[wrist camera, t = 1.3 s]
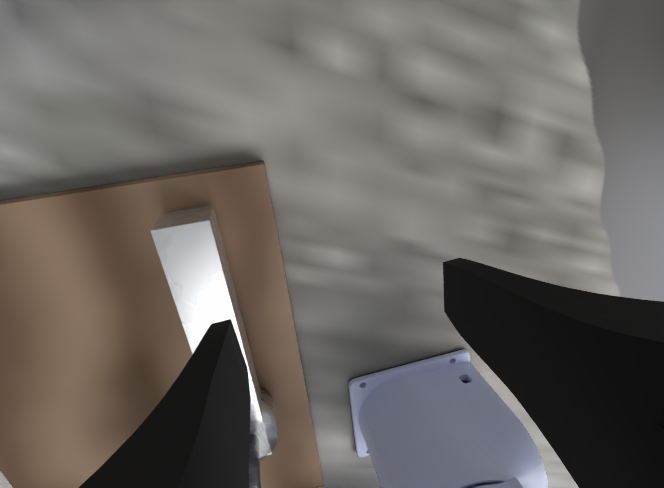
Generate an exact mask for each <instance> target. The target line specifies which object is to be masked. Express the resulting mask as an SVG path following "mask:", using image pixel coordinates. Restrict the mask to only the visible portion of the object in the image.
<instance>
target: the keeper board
mask: <svg viewBox="0 0 664 488" xmlns="http://www.w3.org/2000/svg"><path fill="white" fill-rule="evenodd" d="M209 205H213V206H214V210H215V214H216V218H217V222H218V225H219V229H220V233H221V237H222V241H223V245H224V249H225V253H226V257H227V261H228V264H229V268H230V272H231V276H232V280H233V284H234V288H235V292H236V296H237V300H238V304H239V307H240V311H241V315H242V319H243V323H244V327H245V331H246V335H247V339H248V343H249V346H250V350H251V354H252V358H253V362H254V366H255V370H256V374H257V378H258V382H259V386H260V389H261V390H263V391H265V392H267V393H268V394H269V395H270V396H271V397H272V399H273V402H274V408H275V417H276V426H277V435H278V440H277V444H276V446H275V448H274V450H273V451H272V452H271V453H272V454H271V455H268V456H267V457H265V458H264V459H262V460H260V475H261V488H317V487H320V486H324V482H323V477H322V471H321V466H320V461H319V455H318V450H317V444H316V439H315V434H314V428H313V423H312V418H311V412H310V407H309V401H308V396H307V391H306V385H305V380H304V374H303V369H302V364H301V358H300V353H299V347H298V342H297V337H296V331H295V326H294V320H293V315H292V310H291V304H290V299H289V294H288V288H287V283H286V277H285V272H284V267H283V261H282V256H281V250H280V245H279V240H278V234H277V229H276V223H275V218H274V213H273V207H272V202H271V197H270V191H269V186H268V180H267V175H266V170H265V164H264V161H259V162H252V163H245V164H239V165H232V166H226V167H219V168H212V169H206V170H199V171H193V172H186V173H180V174H173V175H166V176H160V177H153V178H147V179H140V180H134V181H127V182H120V183H114V184H107V185H101V186H94V187H88V188H81V189H74V190H68V191H61V192H55V193H48V194H42V195H35V196H28V197H22V198H15V199H9V200H2V201H0V471H1V472H2V473H3V475H4V476H5V477H6V479H7V480H8V481H9V483H10V484H11V485H12V487H13V488H79V487H80V486H81V485H82V484H83V483H84V482H85V481H86V480H87V479H88V478H89V477H90V476H91V475H92V474H94V473H95V472H96V471H97V470H98V469H99V468H100V467H101V466H102V465H103V464H104V463H105V462H106V461H107V460H108V459H109V458H110V457H111V456H112V455H113V454H114V453H115V452H116V451H117V449H118V448H119V447H120V446H121V445H122V444H123V443H124V442H125V441H126V440H127V439H128V438H129V437H130V436H131V435H132V434H133V433H134V432H135V431H136V430H137V428H138V427H139V426H140V425H141V424H142V423H143V421H144V420H145V419H146V418H147V417H148V416H149V414H150V413H151V412H152V411H153V410H154V408H155V407H156V406H157V405H158V403H159V402H160V401H161V400H162V398H163V397H164V396H165V394H166V393H167V391H168V390H169V389H170V387H171V386H172V384H173V383H174V382H175V380H176V379H177V377H178V376H179V374H180V373H181V371H182V370H183V368H184V367H185V365H186V364H187V362H188V361H189V359H190V357H191V356H192V351H191V348H190V345H189V342H188V339H187V336H186V334H185V331H184V328H183V325H182V322H181V319H180V316H179V313H178V310H177V307H176V304H175V301H174V298H173V296H172V293H171V290H170V287H169V284H168V281H167V278H166V275H165V272H164V269H163V266H162V263H161V260H160V258H159V255H158V252H157V249H156V246H155V243H154V240H153V237H152V234H151V229H152V227H153V226H154V224H155V223H156V221H157V220H158V218H159V217H160V215H161V214H162V213H168V212H173V211H179V210H185V209H191V208H197V207H203V206H209Z"/></svg>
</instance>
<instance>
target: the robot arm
mask: <svg viewBox="0 0 664 488" xmlns="http://www.w3.org/2000/svg"><path fill="white" fill-rule="evenodd" d="M443 275H444V311H445V313H446V315H447V316H448V318H449V319H450V321H451V322H452V324H453V325H454V327H455V328H456V330H457V331H458V332H459V334H460V335H461V336H462V337H463V339H464V340H465V341H466V342H467V343H468V344H469V345H470V346H471V348H472V349H473V350H474V351H475V352H476V353H477V354H478V355H479V356H480V358H481V359H482V360H483V361H484V362H485V363H486V364H487V365H488V366H489V367H490V368H491V370H492V371H493V372H494V373H495V374H496V375H497V376H498V377H499V378H500V379H501V381H502V382H503V383H504V384H505V385H506V386H507V387H508V388H509V390H510V391H511V392H512V393H513V394H514V396H515V397H516V398H517V399H518V401H519V402H520V403H521V405H522V406H523V408H524V409H525V410H526V412H527V413H528V414H529V416H530V417H531V418H532V420H533V421H534V422H535V424H536V425H537V426H538V428H539V429H540V431H541V432H542V434H543V435H544V436H545V438H546V439H547V441H548V442H549V444H550V445H551V446H552V448H553V449H554V451H555V452H556V453H557V455H558V456H559V458H560V459H561V461H562V463H563V464H564V466H565V467H566V469H567V470H568V472H569V473H570V475H571V476H572V478H573V479H574V481H575V482H576V484H577V485H578V487H579V488H664V302H660V301H650V300H640V299H632V298H624V297H617V296H610V295H604V294H597V293H592V292H587V291H581V290H576V289H571V288H567V287H562V286H558V285H554V284H550V283H546V282H542V281H538V280H534V279H531V278H527V277H524V276H520V275H517V274H514V273H510V272H507V271H504V270H501V269H497V268H494V267H491V266H488V265H484V264H481V263H478V262H474V261H471V260H467V259H462V258H457V259H454V260H450V261H446V262H443ZM361 383H363V384H361ZM348 388H349V396H350V404H351V413H352V421H353V429H354V438H355V446H356V452H357V455H358V456H359V457H365V456H369V455H370V457H371V459H372V462H373V465H374V468H375V470H376V473H377V476H378V479H379V482H380V484H381V487H382V488H548V482H547V475H546V470H545V466H544V463H543V460H542V458H541V455H540V453H539V451H538V449H537V447H536V445H535V443H534V441H533V439H532V438H531V436H530V434H529V433H528V431H527V430H526V428H525V427H524V425H523V424H522V423H521V421H520V420H519V419H518V418H517V417H516V415H515V414H514V413H513V412H512V411H511V410H510V408H509V407H508V406H507V405H506V404H505V403H504V401H503V400H502V399H501V398H500V397H499V396H498V394H497V393H496V392H495V391H494V390H493V389H492V387H491V386H490V385H489V384H488V383H487V382H486V380H485V379H484V378H483V377H482V376H481V375H480V373H479V372H478V371H477V370H476V369H475V368H474V366H473V365H472V364H471V363H470V353H469V352H468V351H467V350H465V349H464V350H459V351H455V352H452V353H448V354H444V355H440V356H437V357H433V358H429V359H425V360H422V361H418V362H414V363H410V364H407V365H403V366H399V367H395V368H392V369H388V370H384V371H380V372H377V373H373V374H369V375H365V376H362V377H358V378H354V379H352V380H351V381H350V382H349V383H348ZM250 406H251V397H250V386H249V376H248V368H247V365H246V362H245V359H244V356H243V353H242V350H241V347H240V344H239V341H238V338H237V335H236V332H235V329H234V326H233V323H232V320H231V319H228V320H224V321H220V322H217V323H213V324H211V325H210V326H209V328H208V330H207V331H206V333H205V334H204V336H203V338H202V339H201V341H200V343H199V344H198V346H197V348H196V349H195V351H194V353H193V354H192V356H191V357H190V359H189V361H188V362H187V364H186V365H185V367H184V368H183V370H182V371H181V373H180V374H179V376H178V377H177V379H176V380H175V382H174V383H173V384H172V386H171V387H170V389H169V390H168V391H167V393H166V394H165V396H164V397H163V398H162V400H161V401H160V402H159V403H158V405H157V406H156V407H155V408H154V410H153V411H152V412H151V413H150V414H149V416H148V417H147V418H146V419H145V420H144V421H143V423H142V424H141V425H140V426H139V427H138V428H137V430H136V431H135V432H134V433H133V434H132V435H131V436H130V437H129V438H128V439H127V440H126V441H125V442H124V443H123V444H122V445H121V446H120V447H119V448H118V449H117V451H116V452H115V453H114V454H113V455H112V456H111V457H110V458H109V459H108V460H107V461H106V462H105V463H104V464H103V465H102V466H101V467H100V468H99V469H98V470H97V471H96V472H95V473H94V474H92V475H91V476H90V477H89V478H88V479H87V480H86V481H85V482H84V483H83V484H82V485H81V486H80V487H79V488H249V447H250Z"/></svg>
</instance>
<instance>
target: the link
mask: <svg viewBox="0 0 664 488" xmlns="http://www.w3.org/2000/svg"><path fill="white" fill-rule="evenodd" d="M151 234H152V237H153V240H154V243H155V246H156V249H157V252H158V255H159V258H160V260H161V263H162V266H163V269H164V272H165V275H166V278H167V281H168V284H169V287H170V290H171V293H172V296H173V298H174V301H175V304H176V307H177V310H178V313H179V316H180V319H181V322H182V325H183V328H184V331H185V334H186V336H187V339H188V342H189V345H190V348H191V351H192V354H193V353H194V351H195V349H196V348H197V346H198V344H199V343H200V341H201V339H202V338H203V336H204V334H205V333H206V331H207V330H208V328H209V326H210V325H211V324H213V323H217V322H220V321H224V320H228V319H231V320H232V323H233V326H234V329H235V332H236V335H237V338H238V341H239V344H240V347H241V350H242V353H243V356H244V359H245V362H246V365H247V368H248V376H249V386H250V397H251V406H250V447H249V488H261V475H260V460H262V459H264V458H265V457H267V456H268V455H271V454H272V453H271V452H272V451H273V450H274V448H275V446H276V444H277V440H278V435H277V426H276V417H275V408H274V402H273V399H272V397H271V396H270V395H269V394H268V393H267V392H265V391H263V390H261V389H260V386H259V382H258V378H257V374H256V370H255V366H254V362H253V358H252V354H251V350H250V346H249V343H248V339H247V335H246V331H245V327H244V323H243V319H242V315H241V311H240V307H239V304H238V300H237V296H236V292H235V288H234V284H233V280H232V276H231V272H230V268H229V264H228V261H227V257H226V253H225V249H224V245H223V241H222V237H221V233H220V229H219V225H218V222H217V218H216V214H215V210H214V206H213V205H209V206H203V207H197V208H191V209H185V210H179V211H173V212H168V213H162V214H161V215H160V217H159V218H158V220H157V221H156V223H155V224H154V226H153V227H152V229H151Z"/></svg>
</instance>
